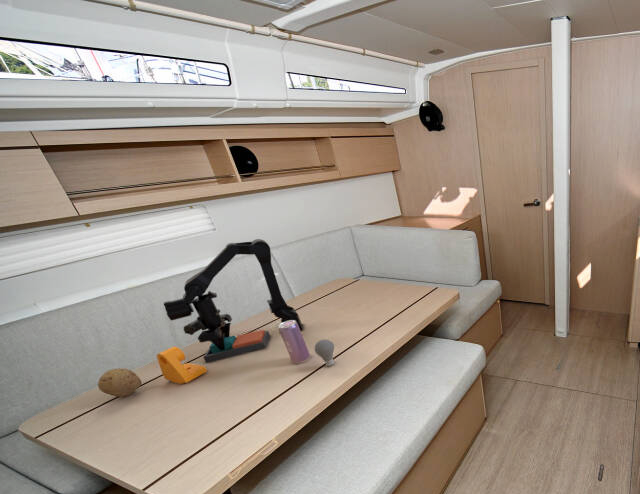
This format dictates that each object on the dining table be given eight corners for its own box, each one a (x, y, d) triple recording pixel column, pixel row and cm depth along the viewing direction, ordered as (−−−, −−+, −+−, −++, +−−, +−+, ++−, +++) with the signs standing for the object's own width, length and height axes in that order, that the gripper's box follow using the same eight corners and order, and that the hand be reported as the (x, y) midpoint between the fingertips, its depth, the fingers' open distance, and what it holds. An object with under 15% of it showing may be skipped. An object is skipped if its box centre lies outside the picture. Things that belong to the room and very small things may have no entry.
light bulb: (321, 371, 121) (312, 347, 116) (321, 363, 126) (312, 339, 121) (340, 366, 123) (331, 341, 119) (339, 358, 128) (330, 334, 124)
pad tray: (270, 335, 149) (268, 330, 148) (265, 348, 139) (263, 342, 138) (215, 348, 142) (212, 343, 141) (206, 362, 133) (203, 357, 131)
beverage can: (314, 356, 130) (300, 321, 124) (299, 365, 125) (284, 328, 119) (303, 353, 133) (289, 318, 126) (288, 362, 128) (273, 326, 121)
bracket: (209, 372, 126) (193, 343, 121) (187, 384, 120) (170, 355, 115) (188, 369, 129) (172, 341, 124) (166, 381, 123) (148, 352, 118)
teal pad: (238, 342, 142) (234, 335, 141) (234, 349, 137) (230, 341, 136) (217, 347, 140) (213, 340, 138) (213, 354, 135) (209, 347, 133)
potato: (106, 398, 117) (88, 373, 112) (141, 383, 123) (126, 359, 119) (112, 407, 112) (93, 381, 107) (148, 391, 118) (132, 366, 114)
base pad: (267, 336, 148) (264, 329, 146) (263, 346, 140) (260, 339, 138) (240, 342, 144) (237, 335, 143) (235, 352, 136) (231, 345, 135)
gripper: (189, 307, 137) (207, 341, 143) (170, 326, 121) (192, 364, 128) (223, 300, 140) (239, 334, 147) (209, 318, 125) (228, 355, 132)
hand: (225, 346), depth 138 cm, fingers closed on teal pad, 6 cm apart
